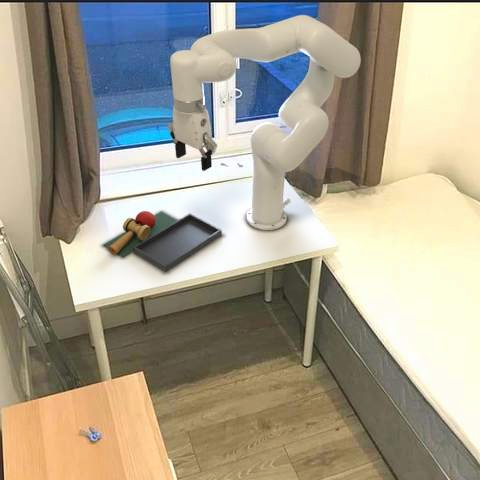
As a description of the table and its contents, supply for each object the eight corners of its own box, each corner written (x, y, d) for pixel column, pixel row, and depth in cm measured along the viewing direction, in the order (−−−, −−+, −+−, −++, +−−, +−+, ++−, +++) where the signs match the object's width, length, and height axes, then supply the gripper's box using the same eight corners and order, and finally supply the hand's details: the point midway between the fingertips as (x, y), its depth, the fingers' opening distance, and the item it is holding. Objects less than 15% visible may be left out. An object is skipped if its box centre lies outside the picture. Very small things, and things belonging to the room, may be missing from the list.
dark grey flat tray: (190, 218, 187) (189, 213, 185) (221, 235, 181) (221, 229, 180) (133, 252, 172) (132, 247, 171) (165, 272, 167) (165, 266, 165)
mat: (161, 212, 189) (161, 211, 188) (180, 222, 185) (180, 222, 185) (103, 245, 174) (103, 244, 174) (123, 257, 171) (122, 256, 170)
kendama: (127, 263, 170) (164, 225, 181) (119, 246, 166) (158, 208, 177) (107, 257, 174) (145, 220, 184) (99, 241, 170) (138, 204, 180)
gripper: (224, 108, 148) (226, 168, 159) (176, 88, 156) (181, 146, 168) (203, 118, 144) (207, 179, 155) (154, 97, 152) (161, 156, 163)
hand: (193, 162), depth 161 cm, fingers open, 9 cm apart
